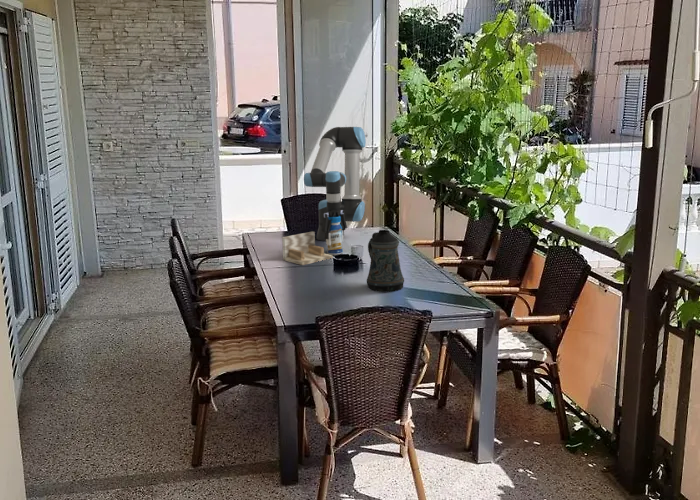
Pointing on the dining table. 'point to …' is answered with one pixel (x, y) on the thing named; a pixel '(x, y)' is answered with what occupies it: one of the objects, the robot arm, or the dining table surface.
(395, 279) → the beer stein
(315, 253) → the wooden display stand
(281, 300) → the dining table surface
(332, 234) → the beverage bottle
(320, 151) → the robot arm
